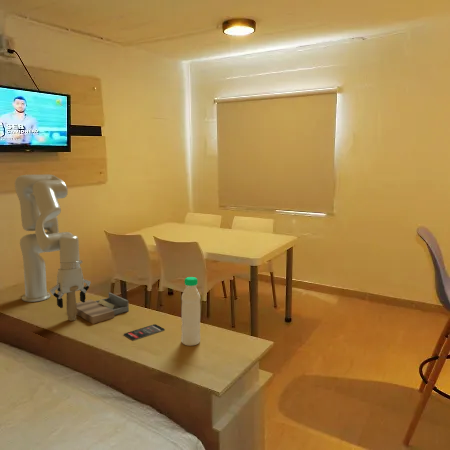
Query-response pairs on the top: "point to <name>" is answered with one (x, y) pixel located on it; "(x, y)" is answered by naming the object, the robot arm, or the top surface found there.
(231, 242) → the top surface
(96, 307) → the board
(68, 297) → the handle
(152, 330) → the smartphone
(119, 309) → the box
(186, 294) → the water bottle
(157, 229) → the top surface
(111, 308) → the tile
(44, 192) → the robot arm
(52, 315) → the top surface
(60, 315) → the top surface
